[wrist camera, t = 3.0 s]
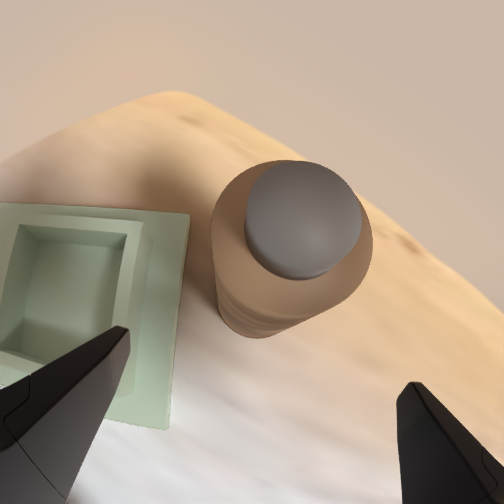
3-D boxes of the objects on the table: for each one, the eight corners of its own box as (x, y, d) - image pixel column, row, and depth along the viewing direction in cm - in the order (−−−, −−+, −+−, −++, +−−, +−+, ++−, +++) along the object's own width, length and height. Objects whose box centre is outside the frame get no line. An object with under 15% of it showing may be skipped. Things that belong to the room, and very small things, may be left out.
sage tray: (-31, 366, 16) (-64, 362, 12) (-1, 208, 21) (-26, 185, 17) (169, 426, 17) (155, 442, 13) (190, 221, 22) (184, 191, 18)
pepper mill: (213, 335, 20) (197, 297, 7) (221, 257, 21) (221, 126, 9) (294, 340, 20) (397, 310, 8) (297, 264, 22) (381, 149, 9)
